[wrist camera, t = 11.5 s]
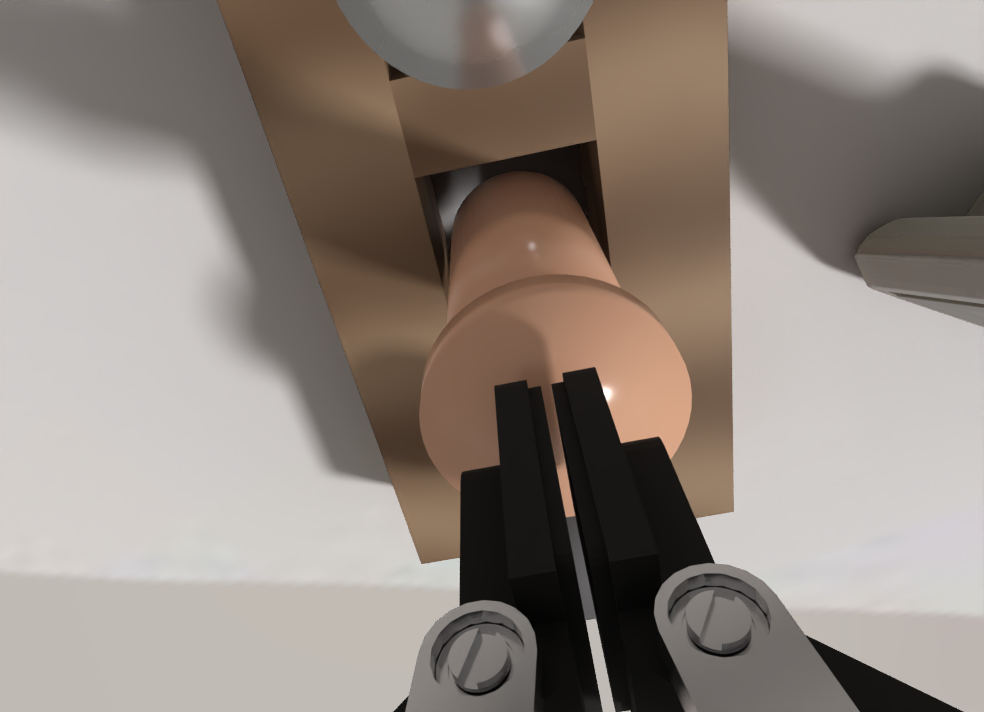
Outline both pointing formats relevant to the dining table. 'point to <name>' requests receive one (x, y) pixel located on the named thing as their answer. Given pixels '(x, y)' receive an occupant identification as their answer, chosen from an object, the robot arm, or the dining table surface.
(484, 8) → the grey peg
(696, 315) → the walnut block
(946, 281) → the digital clock
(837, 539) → the dining table surface
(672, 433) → the terracotta peg
